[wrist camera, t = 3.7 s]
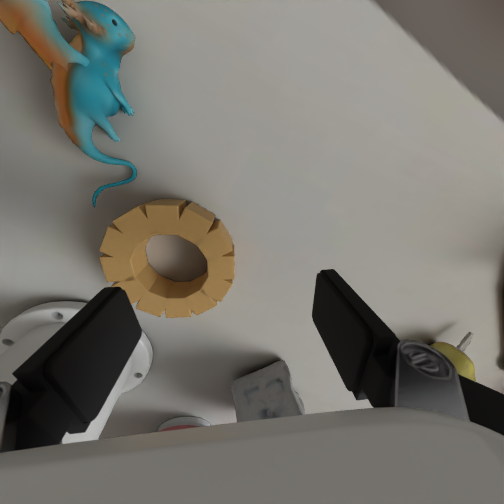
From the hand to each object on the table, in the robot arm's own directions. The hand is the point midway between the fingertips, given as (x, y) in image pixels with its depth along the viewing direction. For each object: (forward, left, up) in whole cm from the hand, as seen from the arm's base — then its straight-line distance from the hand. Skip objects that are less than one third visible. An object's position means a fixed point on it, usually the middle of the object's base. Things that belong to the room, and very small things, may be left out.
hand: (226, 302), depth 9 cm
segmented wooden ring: (-4, +1, -7) cm, 8 cm away
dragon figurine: (-2, +11, -7) cm, 14 cm away
